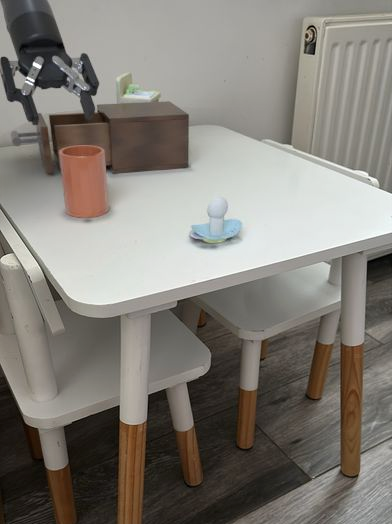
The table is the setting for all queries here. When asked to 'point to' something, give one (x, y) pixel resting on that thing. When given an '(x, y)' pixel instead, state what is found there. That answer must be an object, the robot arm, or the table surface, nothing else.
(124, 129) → the cabinet
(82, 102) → the robot arm
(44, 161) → the drawer
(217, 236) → the pacifier
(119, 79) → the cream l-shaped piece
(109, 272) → the table surface
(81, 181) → the cup
